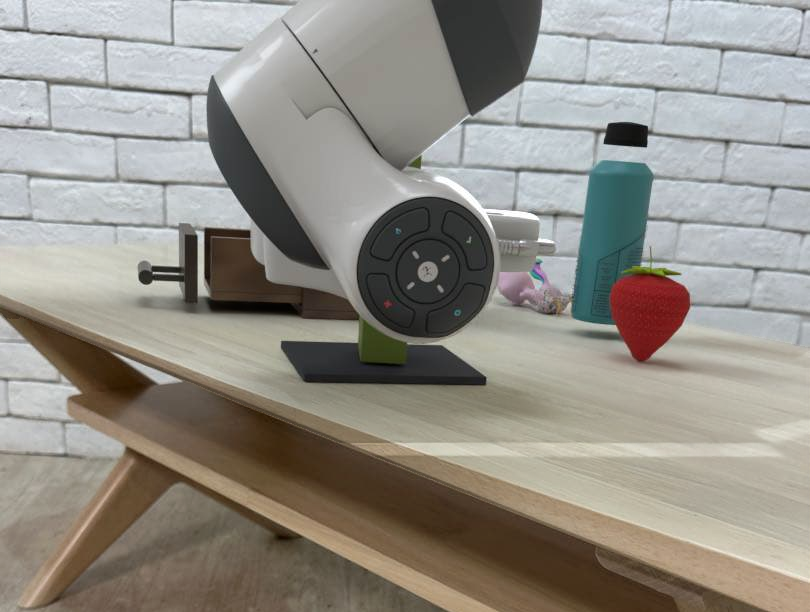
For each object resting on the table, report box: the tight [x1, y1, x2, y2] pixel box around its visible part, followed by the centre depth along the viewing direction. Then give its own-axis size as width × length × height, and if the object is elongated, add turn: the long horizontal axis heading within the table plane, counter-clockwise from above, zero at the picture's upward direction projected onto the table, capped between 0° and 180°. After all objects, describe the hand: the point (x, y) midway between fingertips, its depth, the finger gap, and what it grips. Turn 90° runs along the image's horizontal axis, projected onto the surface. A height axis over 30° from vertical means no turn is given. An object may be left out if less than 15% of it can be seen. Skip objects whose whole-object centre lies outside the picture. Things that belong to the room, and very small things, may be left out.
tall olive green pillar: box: [357, 154, 423, 364], centre depth 76 cm, size 4×6×16 cm, turn 5°
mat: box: [280, 340, 488, 386], centre depth 79 cm, size 14×12×1 cm
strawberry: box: [609, 245, 691, 362], centre depth 87 cm, size 6×8×10 cm
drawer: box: [136, 222, 303, 304], centre depth 100 cm, size 19×11×6 cm, turn 105°
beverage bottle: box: [569, 121, 655, 326], centre depth 98 cm, size 6×7×20 cm
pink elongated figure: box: [496, 258, 573, 317], centre depth 115 cm, size 6×6×15 cm
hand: (388, 223), depth 76 cm, fingers closed on tall olive green pillar, 3 cm apart
